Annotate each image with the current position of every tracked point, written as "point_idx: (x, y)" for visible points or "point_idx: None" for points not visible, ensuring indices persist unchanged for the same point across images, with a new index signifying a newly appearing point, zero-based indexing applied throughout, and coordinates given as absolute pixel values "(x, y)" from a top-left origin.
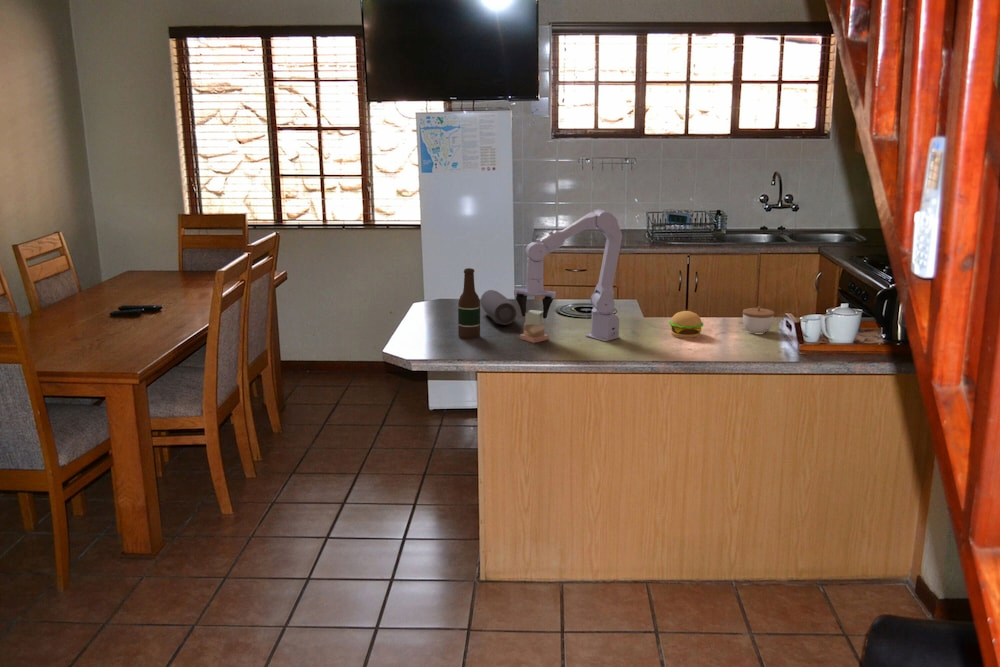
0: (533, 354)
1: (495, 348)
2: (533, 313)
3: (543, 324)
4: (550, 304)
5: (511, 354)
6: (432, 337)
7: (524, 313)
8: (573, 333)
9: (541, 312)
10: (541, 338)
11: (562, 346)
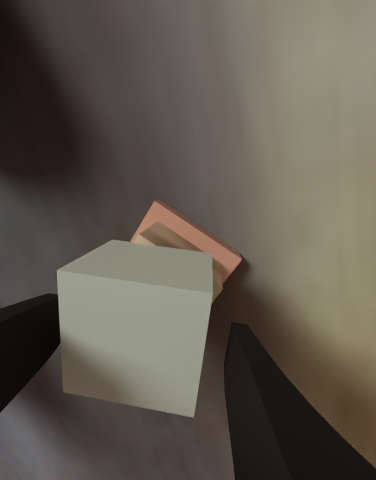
0: (219, 444)
1: (80, 402)
2: (134, 398)
3: (217, 293)
4: (355, 466)
5: (151, 450)
6: None
7: (48, 341)
8: (366, 86)
9: (197, 352)
10: None
11: (315, 343)
